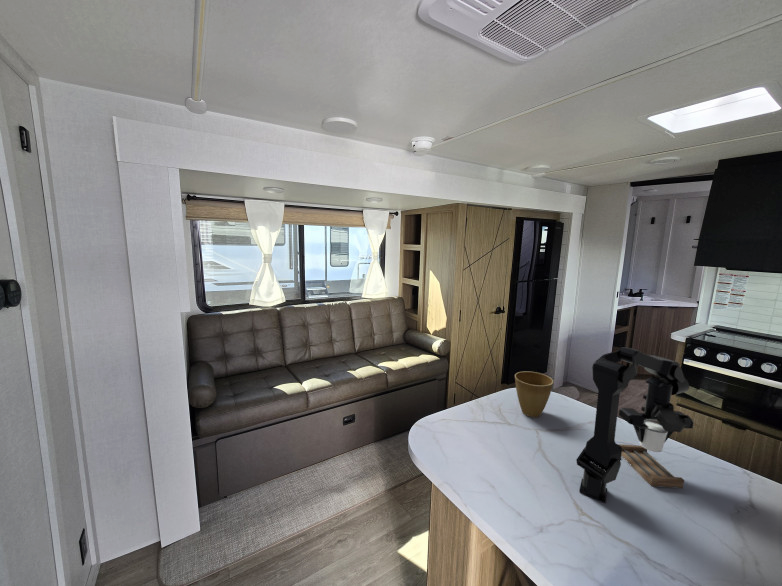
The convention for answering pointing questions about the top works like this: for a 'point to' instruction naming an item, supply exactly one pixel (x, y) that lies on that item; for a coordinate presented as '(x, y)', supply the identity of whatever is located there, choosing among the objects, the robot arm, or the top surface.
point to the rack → (649, 467)
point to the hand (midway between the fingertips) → (651, 442)
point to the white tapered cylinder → (654, 437)
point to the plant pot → (533, 392)
